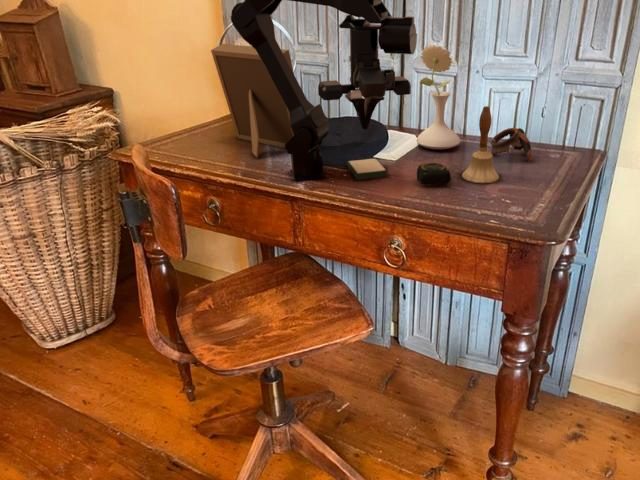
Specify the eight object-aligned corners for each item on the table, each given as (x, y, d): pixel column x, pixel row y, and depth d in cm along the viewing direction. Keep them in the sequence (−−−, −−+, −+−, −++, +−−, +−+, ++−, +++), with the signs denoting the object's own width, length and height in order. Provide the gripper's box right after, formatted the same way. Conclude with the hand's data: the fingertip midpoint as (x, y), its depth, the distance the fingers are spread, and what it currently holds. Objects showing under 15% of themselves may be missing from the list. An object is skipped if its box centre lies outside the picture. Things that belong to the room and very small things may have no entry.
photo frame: (248, 134, 163) (237, 41, 151) (309, 146, 153) (303, 46, 140) (210, 148, 152) (195, 48, 140) (273, 161, 142) (263, 55, 130)
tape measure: (420, 189, 125) (420, 172, 123) (413, 178, 131) (414, 162, 129) (450, 187, 125) (451, 171, 124) (442, 176, 131) (443, 161, 130)
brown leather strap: (531, 167, 137) (517, 139, 134) (495, 178, 143) (481, 150, 140) (541, 141, 145) (528, 114, 141) (507, 152, 151) (494, 126, 147)
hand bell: (498, 184, 127) (507, 112, 119) (461, 182, 128) (466, 110, 120) (498, 172, 134) (506, 102, 126) (462, 170, 135) (468, 101, 127)
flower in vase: (468, 147, 150) (476, 46, 138) (438, 156, 144) (444, 51, 132) (432, 136, 159) (437, 40, 147) (403, 144, 153) (405, 45, 140)
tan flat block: (357, 180, 130) (356, 173, 129) (347, 167, 138) (347, 161, 137) (386, 176, 132) (386, 170, 131) (375, 164, 139) (375, 158, 138)
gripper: (327, 61, 107) (330, 143, 114) (421, 56, 111) (418, 135, 119) (315, 52, 116) (319, 128, 124) (402, 47, 120) (401, 122, 128)
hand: (364, 129), depth 123 cm, fingers closed
